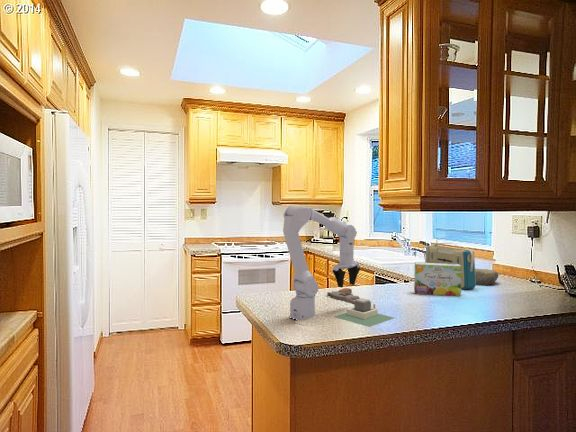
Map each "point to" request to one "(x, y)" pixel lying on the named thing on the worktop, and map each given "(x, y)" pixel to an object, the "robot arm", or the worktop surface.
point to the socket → (362, 313)
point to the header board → (366, 322)
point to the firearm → (343, 295)
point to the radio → (454, 261)
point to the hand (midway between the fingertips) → (346, 285)
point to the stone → (485, 276)
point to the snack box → (437, 279)
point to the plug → (362, 305)
